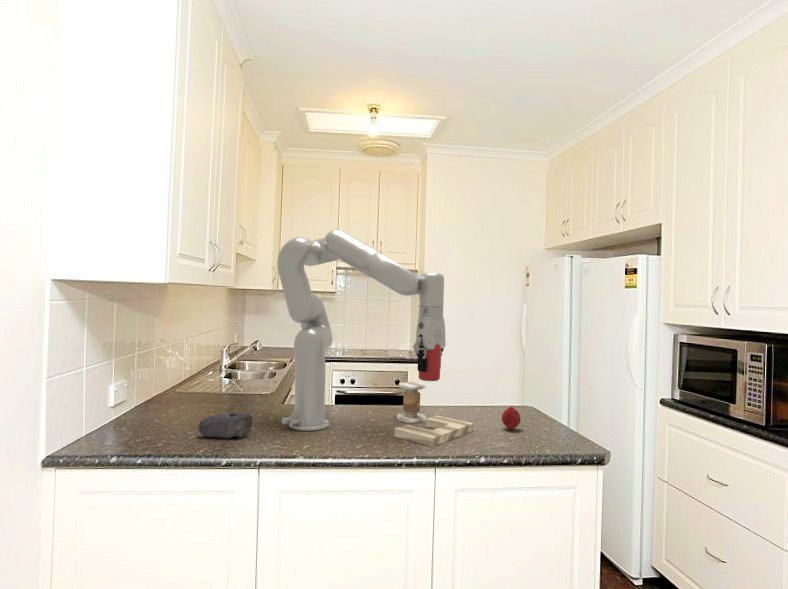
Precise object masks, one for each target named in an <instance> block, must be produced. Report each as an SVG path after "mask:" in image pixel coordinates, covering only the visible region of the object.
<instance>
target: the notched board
mask: <svg viewBox="0 0 788 589" xmlns="http://www.w3.org/2000/svg"><path fill="white" fill-rule="evenodd" d="M425 427H426V428H423V427H417V426H414V425H411V424H404V425H401V426H398V427H394V437H395V438H398V439H402V440H405V441H409V442H413V443H417V444H420V445H423V444H424V446H428V447H431V448H435V447H437V446H439V445H442V444H444V443H447V442H449V440H450V441H452V440H454V438H455V439H457V438H459V436H460V437H462V436H464V434H465V435H467V434H469V433H472V431H474V423H473V422H468V421H466V420H465V421H464V420H459V419H455V418H451V417H446V416H440V415H434V416H430V417H426V421H425ZM430 427H431V428H432V429H431V428H430ZM427 428H430V429H427ZM456 437H457V438H456ZM451 439H452V440H451ZM446 441H447V442H446Z"/></svg>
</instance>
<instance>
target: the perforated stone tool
mask: <svg viewBox="0 0 788 589" xmlns="http://www.w3.org/2000/svg"><path fill="white" fill-rule="evenodd" d="M252 418H253V416H252V415H251V414H250V413H239V412H238V413H231V412H230V413H221V414H215V415H214V414H213V415H211V416H208V417H204V418H203V419H202V420H201V421H199V423H198V427H197V430H198V432H199V433H200V434H201V435H203V436H204V437H207V438H217V439H232V438H234V437H236V438H238V439H239V438H243V437H244V436H246V435H248V434H249V432H250V431H251V429H252V427H253V426H252V424H253V421H252V420H253V419H252Z"/></svg>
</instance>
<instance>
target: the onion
mask: <svg viewBox="0 0 788 589" xmlns="http://www.w3.org/2000/svg"><path fill="white" fill-rule="evenodd" d="M501 421H502V423H503V425H504V426H505V427H506V428H507V429H508V430H509V431H512V430H514V429H516V428H517V427H518V426H519V425H520V423H521V414H520V412H518V410H517V409H516V408H515V407H513V405H511V404H509V406H508V407H507V408H506V409H505V410H504V411H503V413H502V415H501Z"/></svg>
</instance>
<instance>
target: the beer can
mask: <svg viewBox="0 0 788 589" xmlns="http://www.w3.org/2000/svg"><path fill="white" fill-rule="evenodd" d="M437 343H438V342H437ZM422 348H425V347H424V346H422ZM422 352H423V353H424V351H422ZM426 359H427V372H422V371H418V379H419V380H421V381H424V382H437V381H439V380H440V379H441V369H440V359H441V360H442V356H441V347H440V345H439V344H436V345H435V347H434V349H433V350H428V353H427V356H426Z"/></svg>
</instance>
